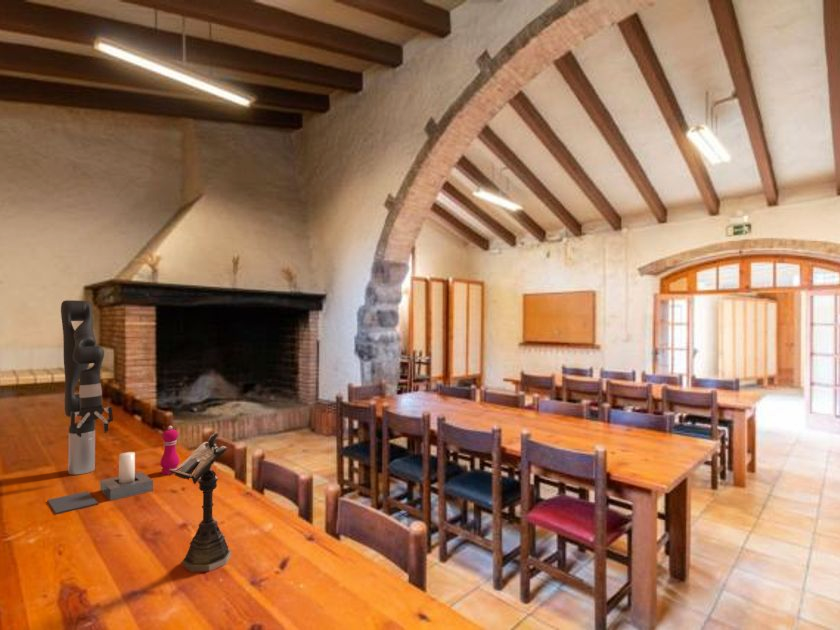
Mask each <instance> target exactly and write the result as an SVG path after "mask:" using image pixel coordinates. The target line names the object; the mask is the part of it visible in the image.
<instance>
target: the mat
mask: <svg viewBox="0 0 840 630" xmlns="http://www.w3.org/2000/svg"><path fill="white" fill-rule="evenodd" d="M47 503H48V504H49V507H50V508H51V509H52V510H53V512H54V514H55V515H59V514H63V513H64V514H65V513H68V512H72V511H76V510H77V511H78V510H81V509H85V508H90V507H93V506H97V505H98V506H99V502H98V501H97V500H96V499H95V498H94V497H93V496H92V494H91V493H90V492H89V491H88V490H87V491H83V492H78V493H72V494H69V495H65V496H58V497H54V498H49V499H47Z"/></svg>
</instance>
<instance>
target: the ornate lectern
mask: <svg viewBox="0 0 840 630" xmlns="http://www.w3.org/2000/svg"><path fill="white" fill-rule="evenodd" d="M218 437H219V433H218V432H217V433H212V434H211V435H210V437H209V438H208V441H203V442H202V443H201V444H200V445H199V446H198V447H197V448H196V449H195V450H194V451H193V452H192V453H191V454H190V455H189V456H188V458H186V459H185V460H184V461H183V462H182V463H181V464H179V465H177V468H176V469H170V470H169V471H170V472H171V473H170V474H169V475H168V476H169V477H170V476H171V475H173V474H172V473H175V474H174V476H175V477H178V478H179V479H183V480H187V481H189V479H192V483H193V485H196V483H198V484H199V487H198V489H199V491H201V492H202V495H203V497H202V502H203V503H202V504H203V505H202V506H201V508H202V515H203V516H202V520H201V521H200V522H199V524H198V528H197V530H196V533H195V535H194V536H193V537H192V540H191V541H190V542H189V548H188V551H187V553H186V554H185V557H184V558H183V560H182V566H183V567H184V568H185V569H186V570H187V571H189V572H191V573H194V572H196V573H197V572H198V573H199V572H200V573H201V572H211V571H213V570H215V569H218V568H220V567H223V566H225V565H227V564H228V562H229V560H230V558H231V556H232V550H230V548H229V545H228V543H227V542H226V539H225V538H226V536H225V535H224V533H223V532H222V531H221V529H220V527H219V525H218V523H217V522H218V520H217V519H216V518H214V517H213V506H214V505H215V503H214V502H213V495H214V494H213V492H214V490H216V488H218V487H217V486H218V484H217V483H218V480H219V478H218V476H217V474H216V472H215V471H214V470H213V469H211V468H212V465H213V464H214V462H216V460H218V459H219V458H220V457H221V456H222V455H223V454H225V452H226V451H227V450H228V449H227V448H228V447H227V446H224V445H222V446H220V447H219V446H218V445H217V444H216V442H215V441H216V439H217V438H218ZM176 470H178V471H176Z"/></svg>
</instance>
